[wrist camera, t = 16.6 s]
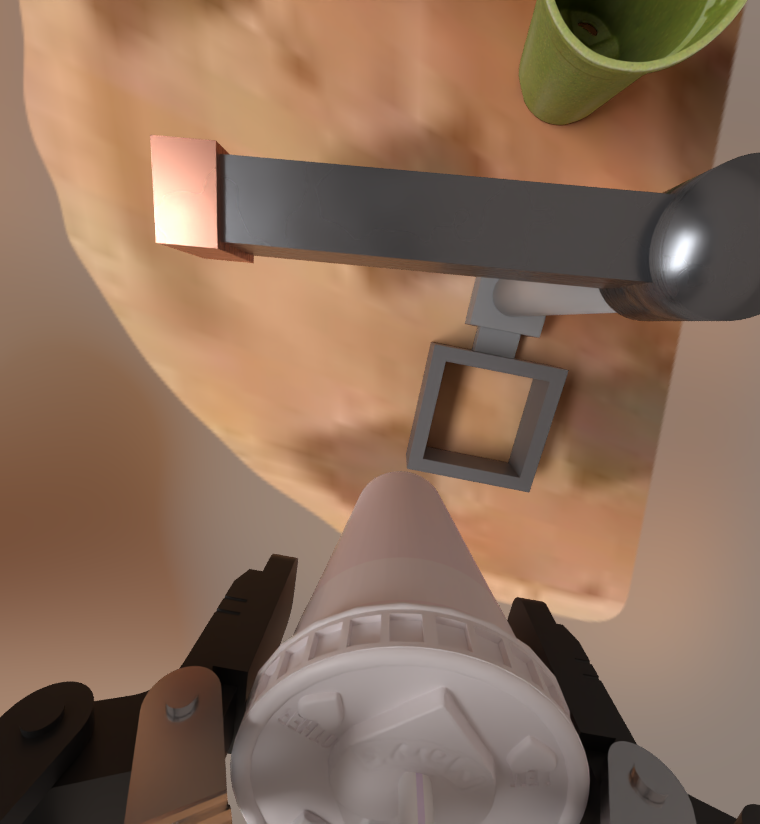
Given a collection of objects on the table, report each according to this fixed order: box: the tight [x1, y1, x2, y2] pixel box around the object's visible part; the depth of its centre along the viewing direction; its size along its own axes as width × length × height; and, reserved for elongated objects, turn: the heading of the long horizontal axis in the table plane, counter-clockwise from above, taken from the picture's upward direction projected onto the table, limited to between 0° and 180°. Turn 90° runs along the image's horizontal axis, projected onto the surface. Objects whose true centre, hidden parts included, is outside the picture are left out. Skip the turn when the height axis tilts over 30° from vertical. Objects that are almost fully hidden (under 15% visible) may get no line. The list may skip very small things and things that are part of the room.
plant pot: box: [519, 0, 747, 125], centre depth 19 cm, size 9×9×9 cm
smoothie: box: [230, 471, 590, 824], centre depth 9 cm, size 6×6×14 cm
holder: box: [406, 277, 617, 492], centre depth 21 cm, size 16×9×16 cm, turn 169°
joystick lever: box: [150, 135, 760, 321], centre depth 10 cm, size 16×4×3 cm, turn 85°
